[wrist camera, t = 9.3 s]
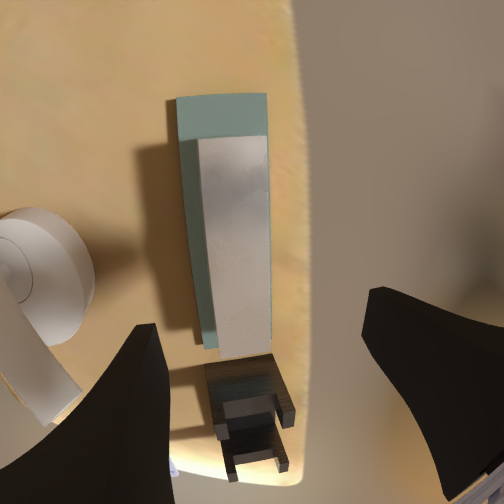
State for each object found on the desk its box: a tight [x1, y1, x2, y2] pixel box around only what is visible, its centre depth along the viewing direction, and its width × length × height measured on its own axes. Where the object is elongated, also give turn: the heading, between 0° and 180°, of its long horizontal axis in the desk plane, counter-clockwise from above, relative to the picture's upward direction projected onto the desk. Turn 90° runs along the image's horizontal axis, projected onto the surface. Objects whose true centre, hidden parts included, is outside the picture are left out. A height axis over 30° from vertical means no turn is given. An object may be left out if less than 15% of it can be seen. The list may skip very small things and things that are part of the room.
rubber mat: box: [176, 93, 272, 349], centre depth 18 cm, size 16×5×1 cm, turn 3°
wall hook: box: [0, 207, 95, 427], centre depth 12 cm, size 9×10×10 cm
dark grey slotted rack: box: [205, 354, 296, 482], centre depth 21 cm, size 10×5×6 cm, turn 3°
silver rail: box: [196, 135, 271, 359], centre depth 16 cm, size 12×3×3 cm, turn 3°
